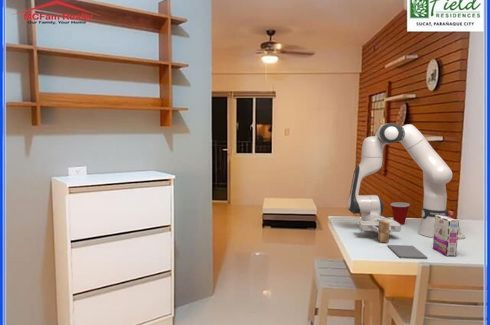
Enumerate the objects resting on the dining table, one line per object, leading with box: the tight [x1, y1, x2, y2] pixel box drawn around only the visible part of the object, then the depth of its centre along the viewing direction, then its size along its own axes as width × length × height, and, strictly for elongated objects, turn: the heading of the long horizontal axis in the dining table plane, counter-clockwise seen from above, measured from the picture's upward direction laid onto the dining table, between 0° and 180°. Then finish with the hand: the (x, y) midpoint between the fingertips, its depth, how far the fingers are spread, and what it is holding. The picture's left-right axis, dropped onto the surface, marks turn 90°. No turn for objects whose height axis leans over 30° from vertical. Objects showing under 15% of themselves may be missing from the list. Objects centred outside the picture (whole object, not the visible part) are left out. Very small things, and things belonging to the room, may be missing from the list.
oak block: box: [377, 220, 390, 243], centre depth 189 cm, size 4×4×10 cm
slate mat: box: [386, 244, 428, 260], centre depth 174 cm, size 12×16×1 cm
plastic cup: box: [390, 201, 411, 225], centre depth 227 cm, size 11×11×12 cm
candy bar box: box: [432, 215, 460, 257], centre depth 175 cm, size 11×5×16 cm, turn 5°
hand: (384, 230), depth 188 cm, fingers closed on oak block, 4 cm apart
